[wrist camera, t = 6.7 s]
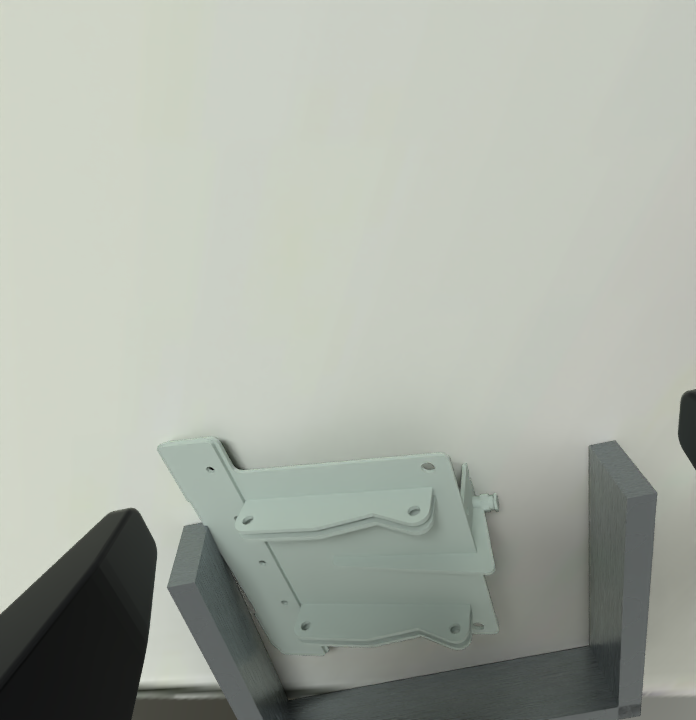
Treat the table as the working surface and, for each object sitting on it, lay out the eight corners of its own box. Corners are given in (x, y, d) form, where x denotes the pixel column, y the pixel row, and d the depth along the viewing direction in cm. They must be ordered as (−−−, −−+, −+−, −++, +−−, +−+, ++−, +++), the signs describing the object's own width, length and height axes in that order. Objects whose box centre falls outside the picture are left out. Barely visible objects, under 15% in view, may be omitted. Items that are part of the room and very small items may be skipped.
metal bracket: (456, 443, 18) (527, 699, 25) (464, 351, 23) (522, 587, 30) (111, 476, 23) (250, 682, 30) (177, 394, 28) (284, 588, 35)
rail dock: (615, 440, 25) (665, 503, 22) (609, 654, 33) (646, 727, 29) (184, 526, 26) (163, 599, 23) (274, 715, 34) (269, 793, 30)
